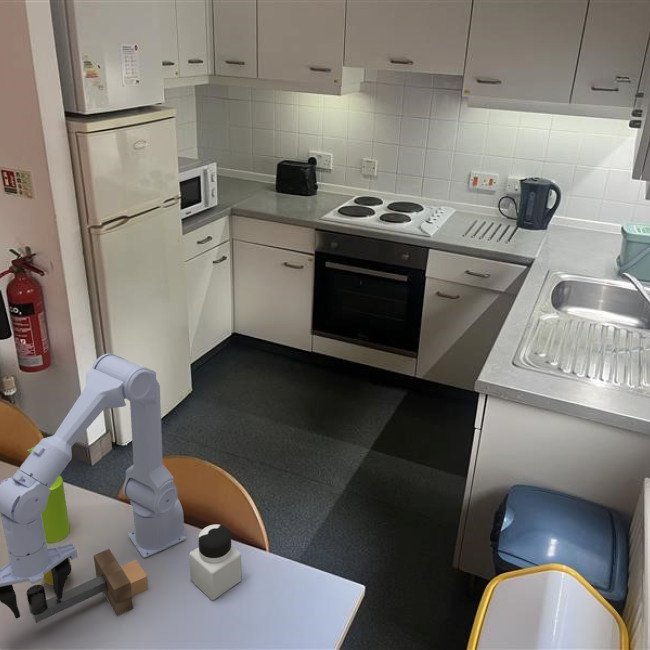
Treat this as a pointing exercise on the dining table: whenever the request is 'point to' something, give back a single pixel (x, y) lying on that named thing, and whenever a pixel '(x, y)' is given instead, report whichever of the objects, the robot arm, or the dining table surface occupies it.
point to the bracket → (114, 582)
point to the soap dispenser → (55, 512)
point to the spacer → (135, 577)
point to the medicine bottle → (215, 562)
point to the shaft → (71, 597)
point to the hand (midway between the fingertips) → (37, 604)
